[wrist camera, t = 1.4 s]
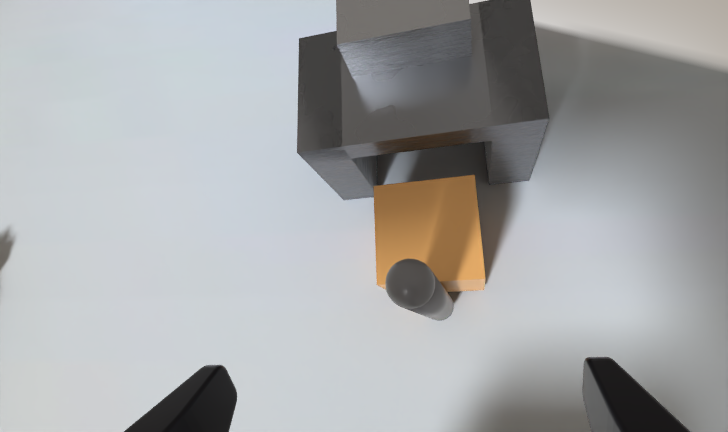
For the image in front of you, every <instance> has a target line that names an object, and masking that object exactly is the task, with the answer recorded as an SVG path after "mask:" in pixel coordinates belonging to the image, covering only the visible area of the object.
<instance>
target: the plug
mask: <svg viewBox="0 0 728 432" xmlns="http://www.w3.org/2000/svg"><path fill="white" fill-rule="evenodd" d="M374 213H375V243H376V272H377V285H378V286H380V287H382V288H384V289H386V290H387V293H388V295H389V297H390V298H391V300H392V301H393V302H394V303H395V304H397V305H398V306H400V307H403V308H405V309H408V310H411V311H413V312H416V313H418V314H421V315H424V316H426V317H429V318H432V319H434V320H445V319H447V318H448V317H449V316H450V315H451V314H452V312H453V308H454V304H453V301H452V299H451V297H450V296H449V294H448V293H447V292H454V291H474V290H484V287H485V269H484V259H483V250H482V240H481V230H480V221H479V211H478V201H477V192H476V182H475V175H468V176H459V177H450V178H441V179H432V180H423V181H414V182H405V183H396V184H387V185H378V186H374Z"/></svg>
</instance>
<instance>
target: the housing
mask: <svg viewBox="0 0 728 432" xmlns="http://www.w3.org/2000/svg"><path fill="white" fill-rule="evenodd" d="M336 11H337V31H334V32H329V33H324V34H319V35H314V36H309V37H304V38H299V77H298V132H297V153H298V154H299V155H300V156H301V157H302V158H303V159H304V160H305V161H306V162H307V163H308V164H309V165H310V166H311V167H312V168H313V169H314V170H315V171H316V172H317V173H318V174H319V175H320V176H321V177H322V178H323V179H324V180H325V181H326V182H327V183H328V184H329V185H330V186H331V187H332V188H333V189H334V190H335V191H336V192H337V193H338V195H339V196H340V197H341V198H342V199H343V200H349V199H358V198H367V197H374V186H378V180H377V155H383V154H391V153H398V152H406V151H414V150H422V149H430V148H437V147H445V146H453V145H461V144H469V143H476V142H484V144H485V153H486V162H487V171H488V179H489V185H491V184H500V183H510V182H519V181H529V179H530V176H531V173H532V170H533V167H534V164H535V161H536V158H537V155H538V151H539V148H540V145H541V142H542V139H543V136H544V133H545V130H546V127H547V124H548V121H549V114H548V108H547V102H546V95H545V89H544V83H543V77H542V70H541V64H540V58H539V52H538V45H537V39H536V33H535V27H534V21H533V15H532V8H531V2H530V0H489V1H483V2H478V3H473V4H469V0H336Z"/></svg>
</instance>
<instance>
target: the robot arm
mask: <svg viewBox="0 0 728 432" xmlns="http://www.w3.org/2000/svg"><path fill="white" fill-rule="evenodd" d="M583 398H584V403H585V407H586V411H587V415H588V419H589V423H590V427H591V431H592V432H690V431H689V430H688V429H687V428H686V427H685V426H684V425H683V424H682V423H680V422H679V421H678V420H677V419H676V418H675V417H674V416H673V415H672V414H671V413H670V412H669V411H668V410H667V409H665V408H664V407H663V406H662V405H661V404H660V403H659V402H658V401H657V400H656V399H655V398H654V397H653V396H652V395H650V394H649V393H648V392H647V391H646V390H645V389H644V388H643V387H642V386H641V385H640V384H639V383H638V382H636V381H635V380H634V379H633V378H632V377H631V376H630V375H629V374H628V373H627V372H626V371H625V370H624V369H623V368H621V367H620V366H619V365H618V364H617V363H616V362H615V361H614V360H613V359H611V358H609V357H588V358H586V359H585V361H584V370H583ZM236 402H237V392H236V388H235V386H234V384H233V382H232V380H231V378H230V376H229V374H228V372H227V370H226V368H225V367H224V366H222V365H207V366H204V367H202V368H201V369H200V370H198V371H197V372H196V373H195V374H194V375H192V376H191V377H190V378H189V379H187V380H186V381H185V382H184V383H183V384H181V385H180V386H179V387H178V388H176V389H175V390H174V391H173V392H172V393H170V394H169V395H168V396H167V397H166V398H164V399H163V400H162V401H161V402H159V403H158V404H157V405H156V406H155V407H153V408H152V409H151V410H150V411H148V412H147V413H146V414H145V415H144V416H142V417H141V418H140V419H139V420H137V421H136V422H135V423H134V424H133V425H131V426H130V427H129V428H128V429H127V430H125V431H124V432H229V429H230V425H231V421H232V417H233V414H234V410H235V406H236Z"/></svg>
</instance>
